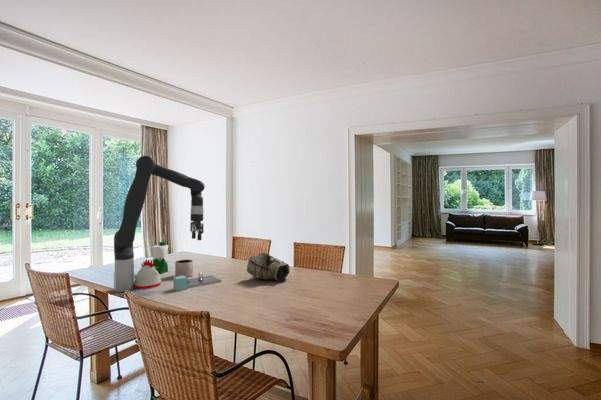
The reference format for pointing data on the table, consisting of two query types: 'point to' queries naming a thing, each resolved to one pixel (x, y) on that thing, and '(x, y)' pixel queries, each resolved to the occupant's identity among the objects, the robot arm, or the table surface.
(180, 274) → the planter
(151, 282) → the kitchen timer
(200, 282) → the shaft plate
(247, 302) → the table surface
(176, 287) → the teal plastic block
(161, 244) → the milk carton
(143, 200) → the robot arm
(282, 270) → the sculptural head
